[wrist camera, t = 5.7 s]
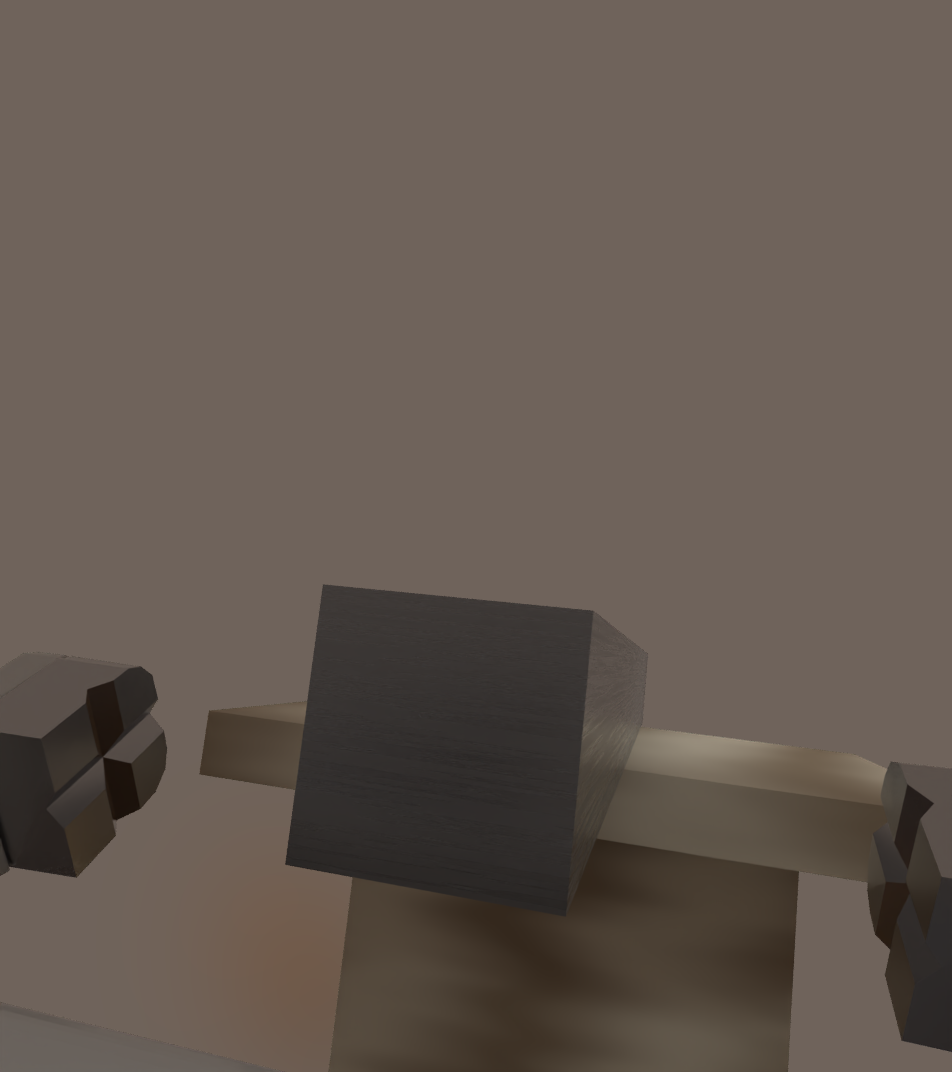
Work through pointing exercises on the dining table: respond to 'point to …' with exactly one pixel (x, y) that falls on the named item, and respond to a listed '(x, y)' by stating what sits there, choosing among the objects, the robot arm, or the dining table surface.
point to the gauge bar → (462, 744)
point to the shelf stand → (600, 917)
